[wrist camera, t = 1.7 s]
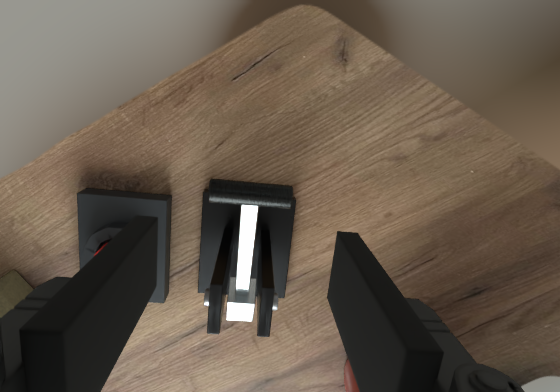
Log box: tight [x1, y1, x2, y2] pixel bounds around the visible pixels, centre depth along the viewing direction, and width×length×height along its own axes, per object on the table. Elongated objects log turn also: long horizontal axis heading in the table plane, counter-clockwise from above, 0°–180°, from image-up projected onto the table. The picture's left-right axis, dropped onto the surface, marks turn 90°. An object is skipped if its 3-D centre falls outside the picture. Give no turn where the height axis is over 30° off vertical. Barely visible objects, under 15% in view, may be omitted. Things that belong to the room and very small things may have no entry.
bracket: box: [198, 189, 296, 337], centre depth 35 cm, size 12×10×14 cm
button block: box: [77, 188, 172, 303], centre depth 39 cm, size 12×9×4 cm
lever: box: [208, 179, 293, 321], centre depth 27 cm, size 14×5×2 cm, turn 175°
